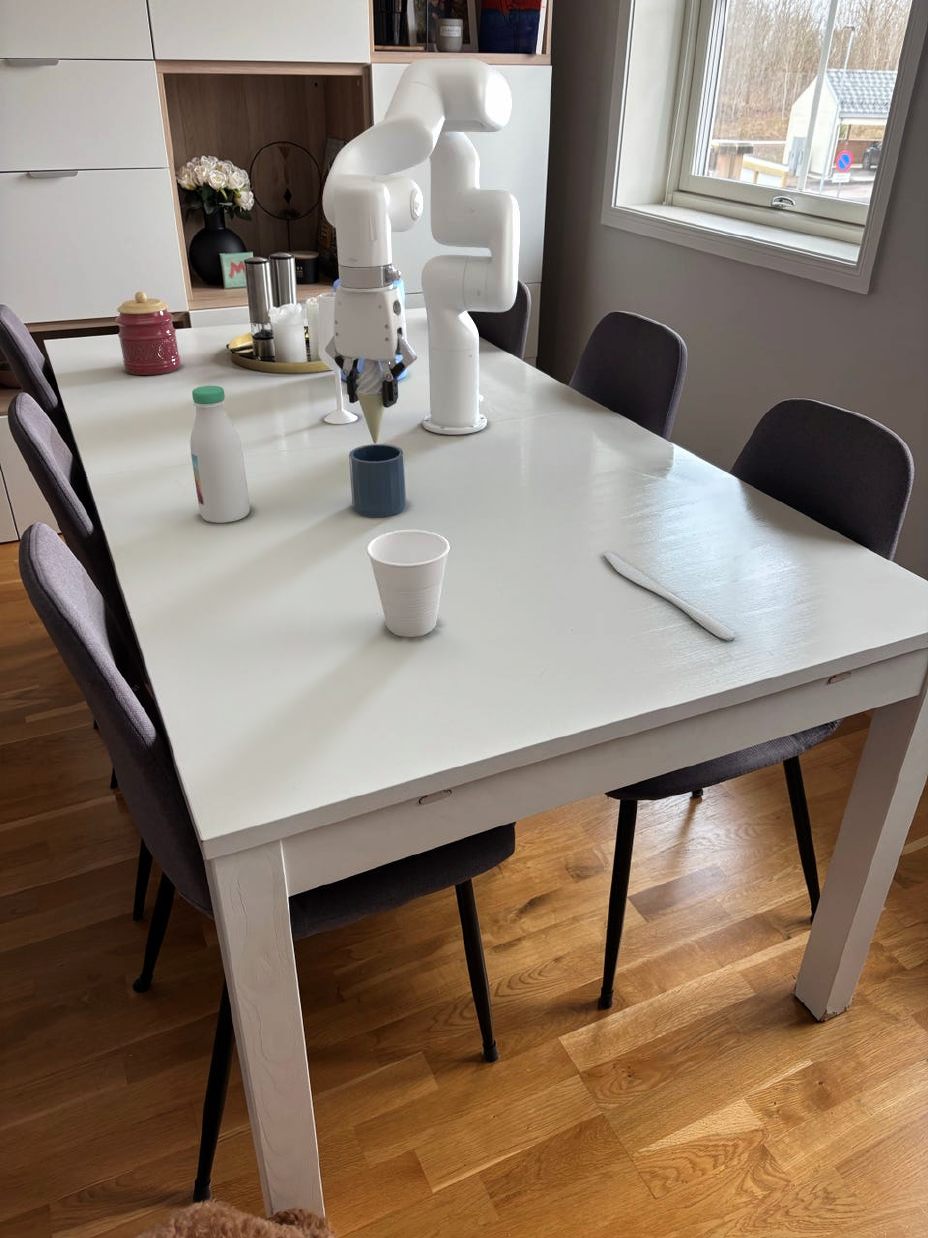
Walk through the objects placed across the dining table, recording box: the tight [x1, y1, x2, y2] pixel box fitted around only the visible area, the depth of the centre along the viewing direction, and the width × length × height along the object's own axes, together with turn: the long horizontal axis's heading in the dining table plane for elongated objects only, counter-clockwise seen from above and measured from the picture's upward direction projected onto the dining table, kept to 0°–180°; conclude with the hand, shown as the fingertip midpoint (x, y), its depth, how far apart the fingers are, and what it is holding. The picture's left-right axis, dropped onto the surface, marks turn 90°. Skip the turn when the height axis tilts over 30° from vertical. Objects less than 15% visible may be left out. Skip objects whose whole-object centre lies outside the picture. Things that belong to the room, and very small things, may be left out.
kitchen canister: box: [114, 291, 181, 376], centre depth 222 cm, size 13×13×18 cm
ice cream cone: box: [355, 359, 385, 444], centre depth 143 cm, size 5×5×15 cm
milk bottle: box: [189, 385, 251, 524], centre depth 145 cm, size 8×8×20 cm
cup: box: [365, 529, 450, 638], centre depth 116 cm, size 10×10×11 cm
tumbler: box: [348, 443, 407, 518], centre depth 150 cm, size 8×8×9 cm
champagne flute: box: [318, 292, 358, 425], centre depth 186 cm, size 7×7×24 cm
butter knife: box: [604, 552, 736, 641], centre depth 125 cm, size 1×27×3 cm
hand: (373, 401), depth 144 cm, fingers closed on ice cream cone, 5 cm apart
